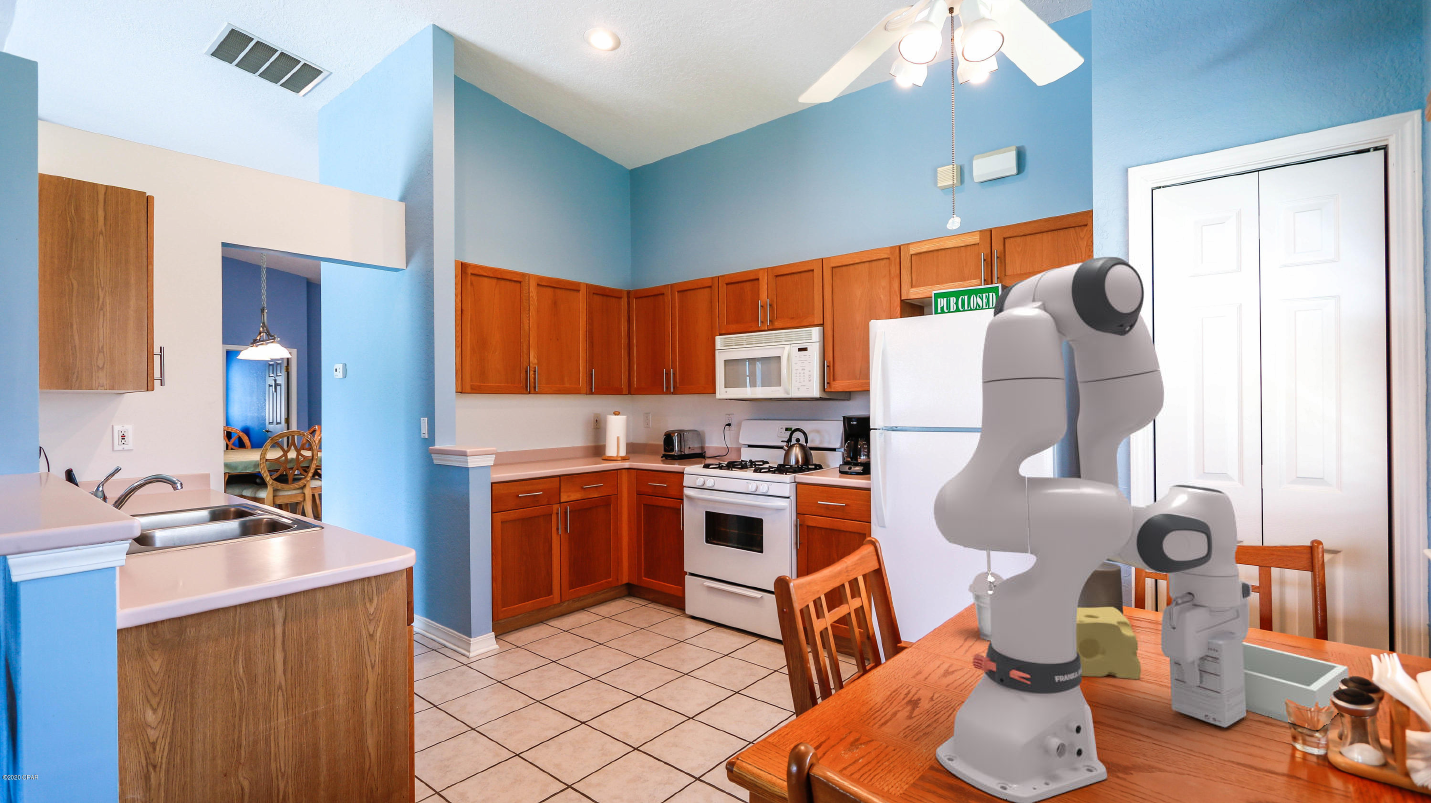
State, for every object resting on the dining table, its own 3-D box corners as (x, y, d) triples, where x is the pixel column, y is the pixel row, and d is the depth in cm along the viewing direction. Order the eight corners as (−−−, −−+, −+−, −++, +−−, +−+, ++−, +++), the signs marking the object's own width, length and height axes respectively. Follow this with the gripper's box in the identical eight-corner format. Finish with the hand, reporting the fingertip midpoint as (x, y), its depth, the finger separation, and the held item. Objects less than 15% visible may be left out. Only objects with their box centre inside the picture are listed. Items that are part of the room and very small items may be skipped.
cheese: (1141, 680, 112) (1139, 623, 112) (1075, 677, 114) (1073, 621, 114) (1116, 657, 122) (1114, 606, 122) (1056, 655, 124) (1054, 604, 124)
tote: (1317, 731, 93) (1315, 690, 93) (1197, 694, 106) (1196, 658, 106) (1349, 704, 101) (1348, 666, 101) (1234, 673, 114) (1233, 639, 114)
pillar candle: (1135, 632, 135) (1132, 561, 136) (1097, 636, 133) (1093, 565, 134) (1099, 618, 145) (1095, 553, 145) (1062, 622, 143) (1059, 556, 143)
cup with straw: (1013, 646, 129) (1009, 548, 129) (965, 640, 133) (962, 545, 133) (1013, 632, 137) (1010, 540, 137) (968, 627, 141) (965, 538, 141)
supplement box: (1192, 698, 103) (1189, 621, 104) (1248, 716, 97) (1244, 633, 97) (1169, 709, 100) (1166, 628, 100) (1225, 728, 93) (1222, 642, 94)
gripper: (1194, 603, 91) (1198, 700, 91) (1256, 583, 101) (1260, 670, 101) (1146, 594, 97) (1150, 685, 96) (1210, 575, 107) (1214, 658, 106)
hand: (1207, 677), depth 98 cm, fingers closed on supplement box, 7 cm apart
